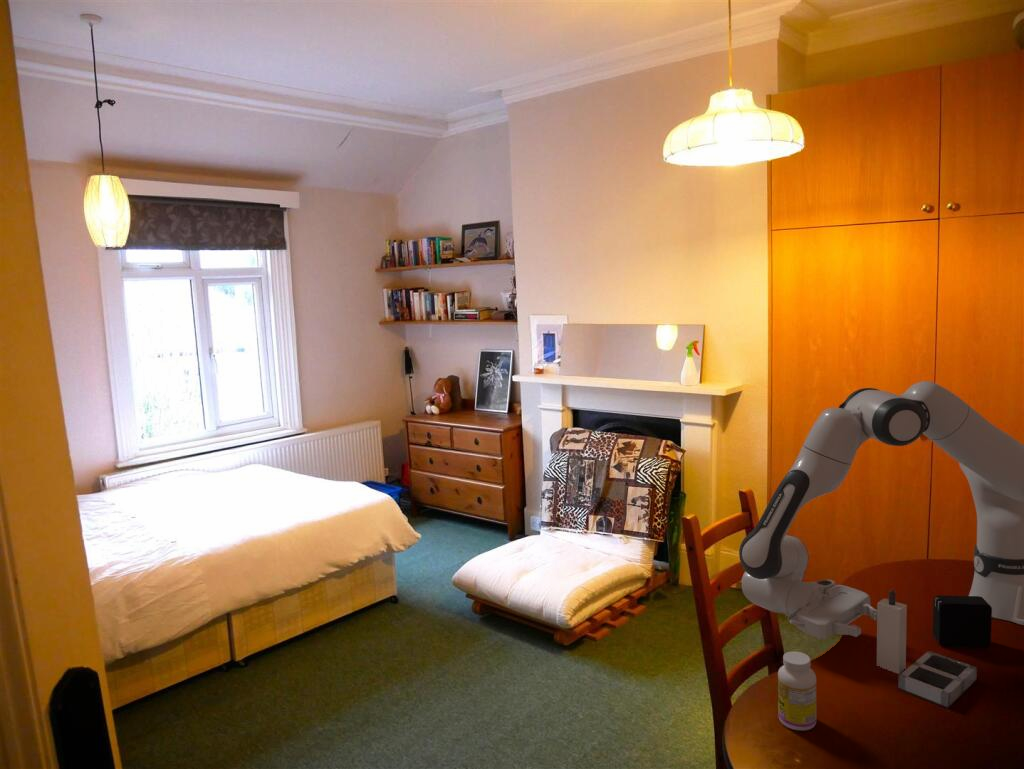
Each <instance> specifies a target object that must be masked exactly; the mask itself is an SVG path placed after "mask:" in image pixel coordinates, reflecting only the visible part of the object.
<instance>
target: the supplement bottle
mask: <svg viewBox="0 0 1024 769" xmlns="http://www.w3.org/2000/svg"><path fill="white" fill-rule="evenodd" d="M782 657H783V658H782V660H783V661H782V663H783V665H782V666H780V667H779V669H778V672H777V683H778V684H777V706H778V707H777V709H778V711H777V714H778V719H779V721H780V723H781V724H782V725H784V726H785V727H786V728H788V729H792V730H794V731H799V732H800V731H802V732H803V731H809V730H812V729H813V728H814V727H815V725H816V724H817V676H816V673H815V671H814V670H813V669H811V665H812V664H811V657H810V656H809V655H807V654H806V653H804V652H801V651H788V652H785V653H784V654H783V656H782Z"/></svg>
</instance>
